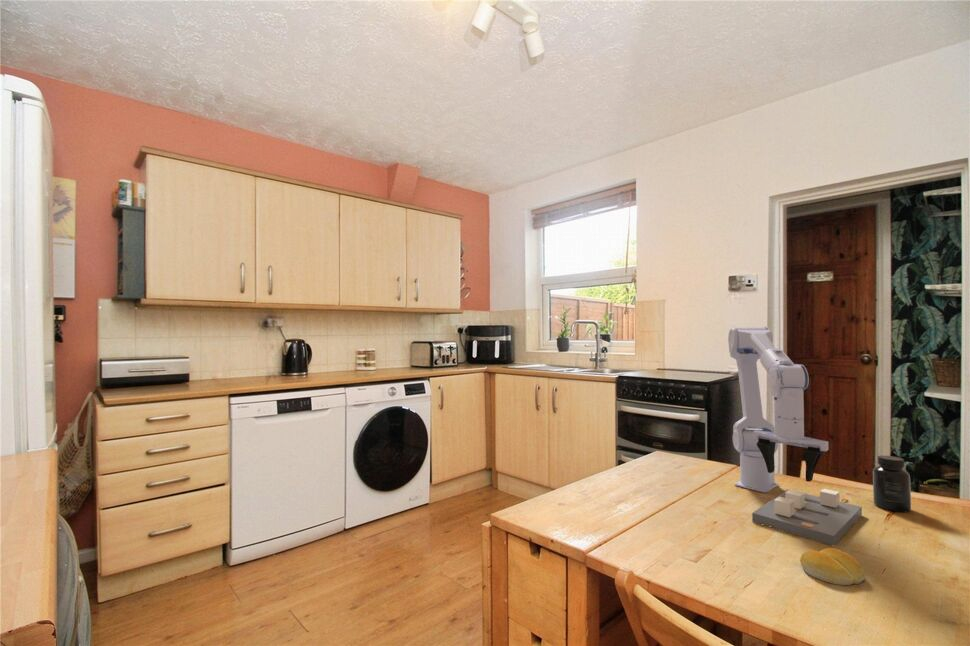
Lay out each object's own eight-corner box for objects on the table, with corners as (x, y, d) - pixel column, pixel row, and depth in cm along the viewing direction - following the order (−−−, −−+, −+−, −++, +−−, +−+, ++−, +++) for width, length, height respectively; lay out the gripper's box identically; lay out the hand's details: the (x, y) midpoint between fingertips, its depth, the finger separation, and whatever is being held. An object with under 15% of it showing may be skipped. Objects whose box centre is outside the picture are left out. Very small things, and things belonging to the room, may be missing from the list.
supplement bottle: (917, 510, 108) (916, 460, 108) (900, 515, 106) (899, 463, 106) (883, 500, 115) (882, 452, 115) (866, 504, 112) (865, 455, 112)
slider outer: (779, 509, 104) (779, 496, 104) (794, 513, 101) (794, 500, 101) (774, 513, 102) (774, 499, 102) (789, 517, 99) (789, 503, 99)
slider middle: (789, 502, 108) (789, 489, 108) (804, 505, 106) (804, 493, 106) (785, 505, 106) (785, 492, 106) (800, 509, 104) (800, 496, 104)
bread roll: (790, 564, 84) (789, 543, 84) (833, 561, 85) (833, 540, 85) (828, 589, 76) (828, 565, 76) (876, 586, 77) (875, 562, 77)
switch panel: (787, 497, 117) (787, 489, 117) (861, 515, 106) (861, 506, 106) (752, 521, 102) (752, 512, 103) (833, 545, 91) (833, 535, 91)
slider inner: (824, 501, 109) (823, 488, 109) (839, 504, 106) (839, 491, 106) (820, 504, 107) (820, 491, 107) (835, 507, 104) (835, 494, 104)
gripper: (747, 414, 108) (748, 471, 108) (820, 424, 97) (821, 488, 97) (759, 411, 112) (760, 466, 112) (831, 420, 101) (832, 481, 101)
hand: (789, 476), depth 105 cm, fingers open, 7 cm apart
